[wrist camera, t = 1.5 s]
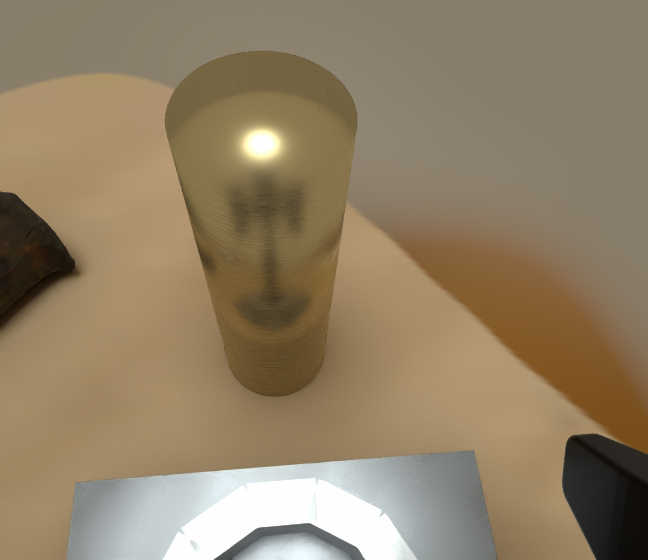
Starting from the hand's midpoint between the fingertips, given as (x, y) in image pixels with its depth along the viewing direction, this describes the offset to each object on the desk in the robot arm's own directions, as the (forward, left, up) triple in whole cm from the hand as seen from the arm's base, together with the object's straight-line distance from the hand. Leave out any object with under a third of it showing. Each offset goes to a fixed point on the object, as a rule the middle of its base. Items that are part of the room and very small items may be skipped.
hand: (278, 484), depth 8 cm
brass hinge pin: (+7, -3, -13) cm, 15 cm away
